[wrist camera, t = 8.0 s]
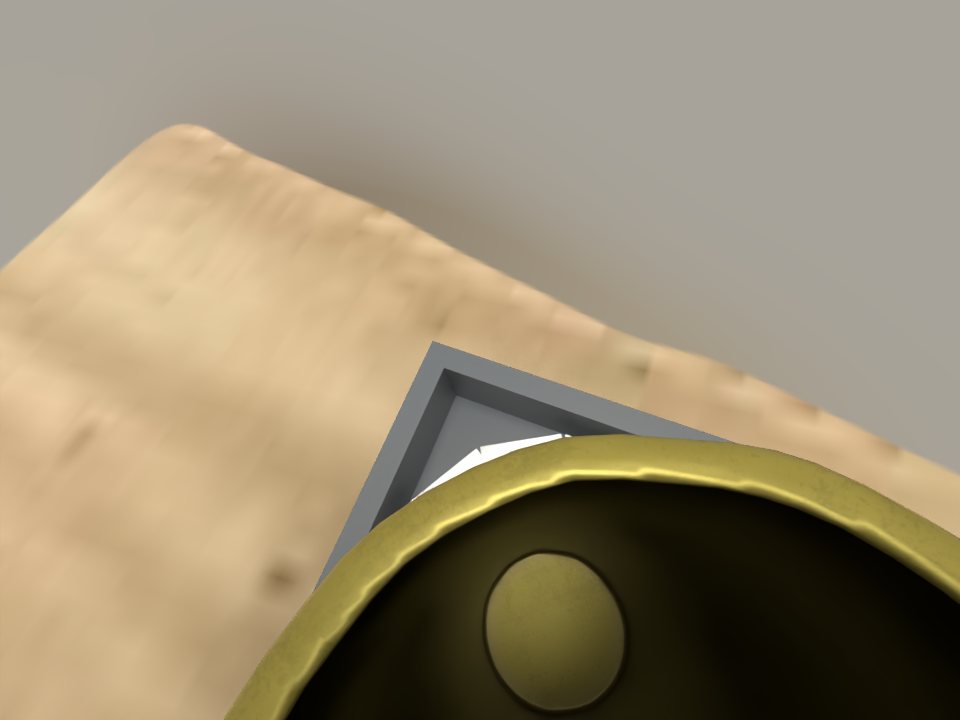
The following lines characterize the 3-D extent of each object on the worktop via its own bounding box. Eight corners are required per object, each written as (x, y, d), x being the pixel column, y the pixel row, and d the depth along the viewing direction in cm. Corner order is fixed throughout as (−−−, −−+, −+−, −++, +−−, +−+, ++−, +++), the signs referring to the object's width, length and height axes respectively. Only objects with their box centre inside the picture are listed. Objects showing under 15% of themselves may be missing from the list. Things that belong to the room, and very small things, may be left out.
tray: (785, 498, 17) (855, 483, 13) (706, 979, 13) (778, 1152, 9) (450, 380, 20) (432, 341, 17) (292, 733, 16) (220, 787, 12)
